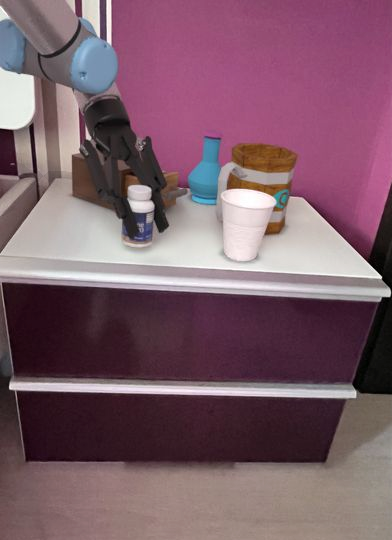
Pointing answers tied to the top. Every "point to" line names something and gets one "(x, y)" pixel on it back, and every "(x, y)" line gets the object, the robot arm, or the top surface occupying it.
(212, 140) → the perfume bottle
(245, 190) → the cup
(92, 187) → the cabinet
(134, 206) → the pill bottle
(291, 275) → the top surface
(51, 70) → the robot arm
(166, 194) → the drawer
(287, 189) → the mug
